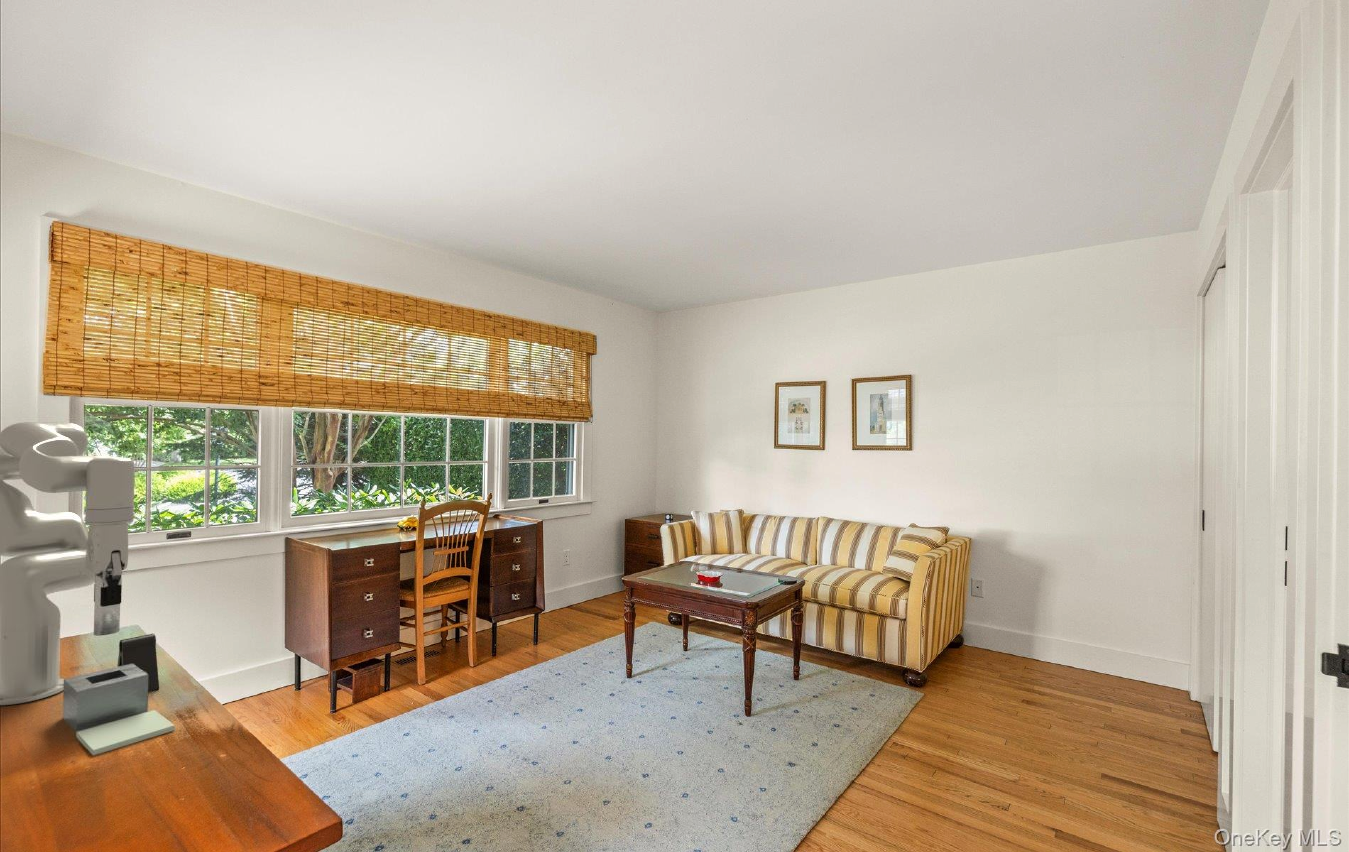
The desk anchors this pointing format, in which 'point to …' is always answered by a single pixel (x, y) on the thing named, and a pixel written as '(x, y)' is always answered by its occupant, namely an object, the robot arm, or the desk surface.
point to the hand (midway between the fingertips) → (107, 602)
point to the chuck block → (104, 696)
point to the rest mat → (124, 732)
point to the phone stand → (141, 657)
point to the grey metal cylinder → (105, 613)
